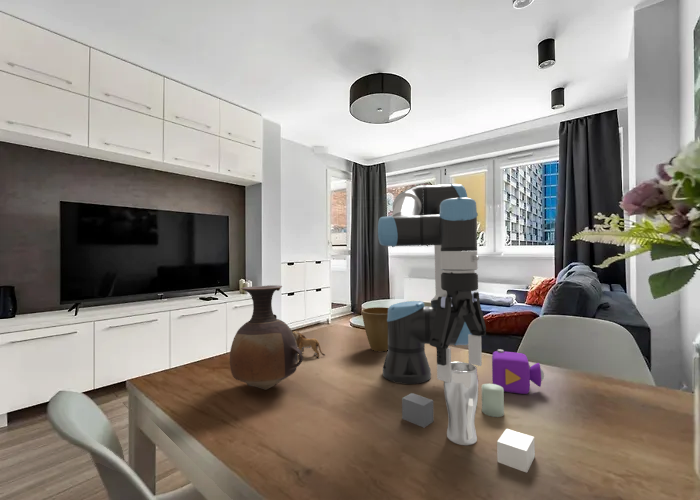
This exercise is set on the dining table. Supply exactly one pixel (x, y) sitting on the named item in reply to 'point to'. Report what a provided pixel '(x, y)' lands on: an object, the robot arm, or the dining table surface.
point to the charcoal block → (417, 410)
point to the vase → (264, 344)
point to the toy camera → (514, 372)
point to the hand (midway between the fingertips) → (460, 372)
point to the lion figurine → (307, 343)
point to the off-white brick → (516, 450)
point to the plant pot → (376, 327)
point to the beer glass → (462, 403)
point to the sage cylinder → (492, 400)
